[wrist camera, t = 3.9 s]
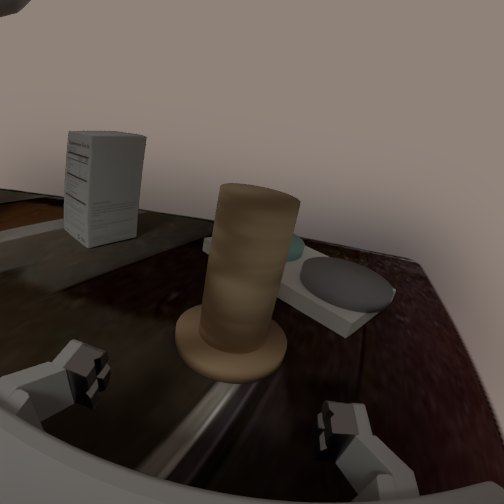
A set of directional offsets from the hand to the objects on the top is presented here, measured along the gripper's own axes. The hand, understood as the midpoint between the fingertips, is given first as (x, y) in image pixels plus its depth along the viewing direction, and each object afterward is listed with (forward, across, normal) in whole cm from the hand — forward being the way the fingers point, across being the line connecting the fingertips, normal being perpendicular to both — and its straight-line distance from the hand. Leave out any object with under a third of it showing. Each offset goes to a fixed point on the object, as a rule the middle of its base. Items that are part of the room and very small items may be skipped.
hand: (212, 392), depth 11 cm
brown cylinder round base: (+11, 0, +6) cm, 12 cm away
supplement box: (+25, +19, +6) cm, 32 cm away
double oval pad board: (+25, -6, +6) cm, 27 cm away
